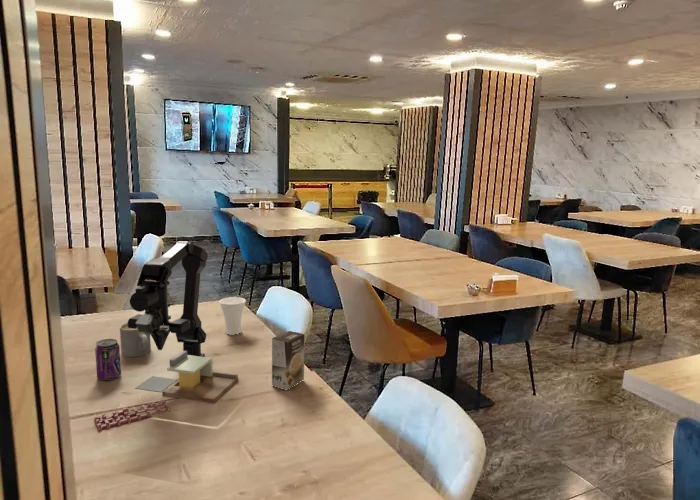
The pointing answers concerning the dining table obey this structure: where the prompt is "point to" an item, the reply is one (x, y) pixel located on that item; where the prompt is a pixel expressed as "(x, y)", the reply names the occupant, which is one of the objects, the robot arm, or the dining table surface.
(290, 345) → the food box
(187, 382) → the block
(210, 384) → the board
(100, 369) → the beverage can
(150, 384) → the coaster
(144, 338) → the coffee mug
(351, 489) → the dining table surface
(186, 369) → the lid
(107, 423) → the chocolate bar
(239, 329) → the cup
